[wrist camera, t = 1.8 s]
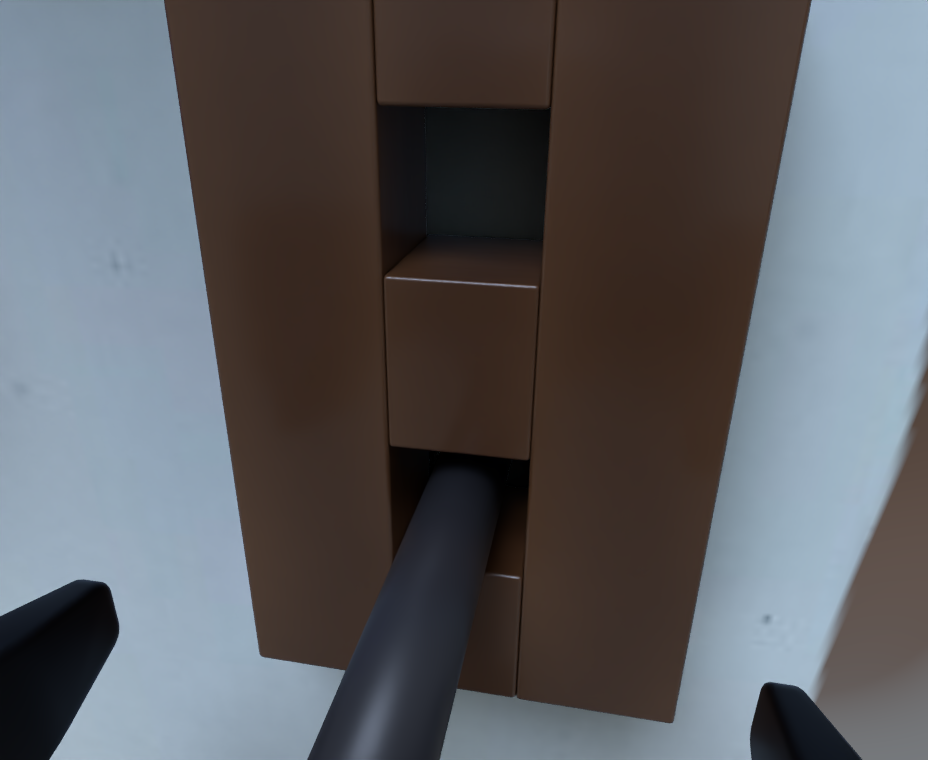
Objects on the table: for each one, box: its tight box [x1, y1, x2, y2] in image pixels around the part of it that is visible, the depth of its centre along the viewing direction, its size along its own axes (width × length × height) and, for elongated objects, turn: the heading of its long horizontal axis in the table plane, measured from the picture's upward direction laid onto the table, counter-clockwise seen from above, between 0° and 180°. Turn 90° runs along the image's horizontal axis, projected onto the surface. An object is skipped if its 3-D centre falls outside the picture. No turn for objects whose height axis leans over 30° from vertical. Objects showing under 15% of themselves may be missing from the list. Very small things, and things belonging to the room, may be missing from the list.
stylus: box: [307, 452, 512, 760], centre depth 10 cm, size 1×1×10 cm
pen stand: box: [164, 0, 812, 723], centre depth 12 cm, size 8×14×3 cm, turn 179°
